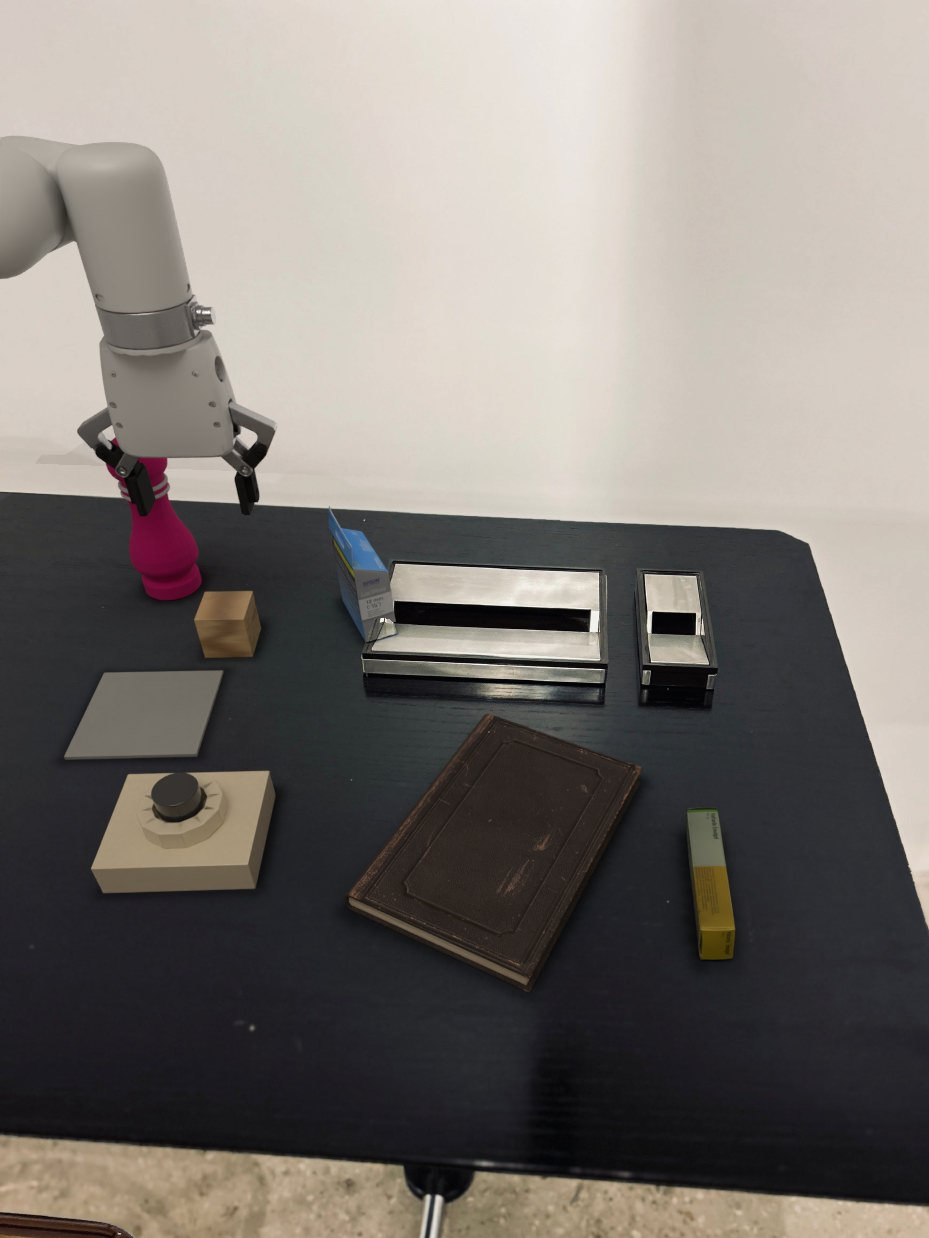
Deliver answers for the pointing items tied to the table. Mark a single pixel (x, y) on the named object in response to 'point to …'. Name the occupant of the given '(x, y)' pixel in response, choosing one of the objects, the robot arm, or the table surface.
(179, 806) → the button
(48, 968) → the table surface
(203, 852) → the dial knob box
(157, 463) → the pepper mill
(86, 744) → the pad
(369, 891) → the hardcover book
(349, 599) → the label tape box
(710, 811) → the medication box
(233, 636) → the block
